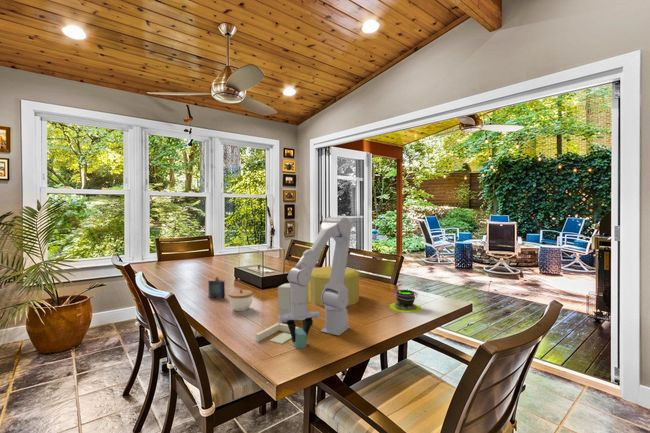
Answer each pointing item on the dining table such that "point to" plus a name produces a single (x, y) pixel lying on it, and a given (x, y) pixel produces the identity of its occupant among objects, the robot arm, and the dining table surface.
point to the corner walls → (272, 331)
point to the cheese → (323, 277)
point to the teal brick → (300, 338)
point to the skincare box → (284, 299)
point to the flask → (216, 288)
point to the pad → (281, 338)
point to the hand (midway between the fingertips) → (299, 340)
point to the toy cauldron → (405, 301)
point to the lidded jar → (240, 299)
